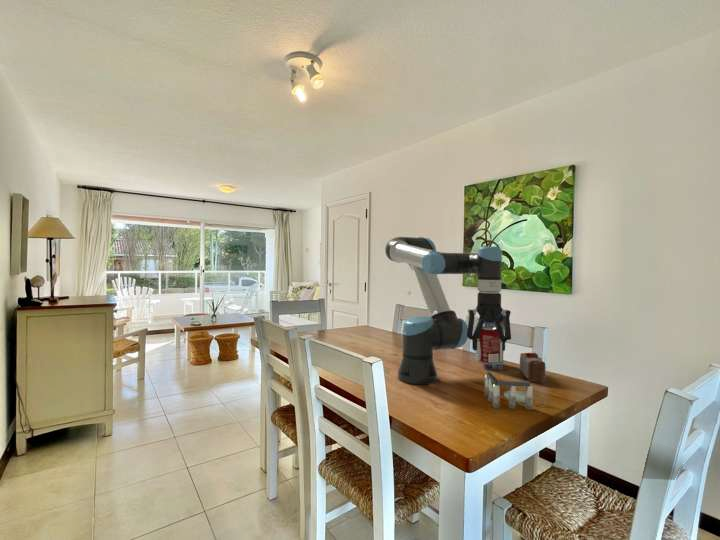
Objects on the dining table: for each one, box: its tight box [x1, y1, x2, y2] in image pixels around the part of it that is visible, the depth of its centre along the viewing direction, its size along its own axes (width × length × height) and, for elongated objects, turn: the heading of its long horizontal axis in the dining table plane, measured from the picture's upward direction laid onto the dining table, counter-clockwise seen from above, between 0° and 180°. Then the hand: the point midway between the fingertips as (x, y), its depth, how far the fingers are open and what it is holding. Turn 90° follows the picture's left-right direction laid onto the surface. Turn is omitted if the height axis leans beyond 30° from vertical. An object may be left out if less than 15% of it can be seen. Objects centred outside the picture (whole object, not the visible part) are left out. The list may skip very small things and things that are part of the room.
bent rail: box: [483, 371, 534, 410], centre depth 116 cm, size 12×11×8 cm
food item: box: [519, 352, 546, 384], centre depth 141 cm, size 14×8×10 cm, turn 170°
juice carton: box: [480, 312, 505, 371], centre depth 156 cm, size 12×8×24 cm, turn 171°
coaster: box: [503, 390, 534, 404], centre depth 120 cm, size 9×9×1 cm
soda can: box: [478, 326, 499, 365], centre depth 121 cm, size 7×7×12 cm
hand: (488, 360), depth 121 cm, fingers closed on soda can, 7 cm apart
